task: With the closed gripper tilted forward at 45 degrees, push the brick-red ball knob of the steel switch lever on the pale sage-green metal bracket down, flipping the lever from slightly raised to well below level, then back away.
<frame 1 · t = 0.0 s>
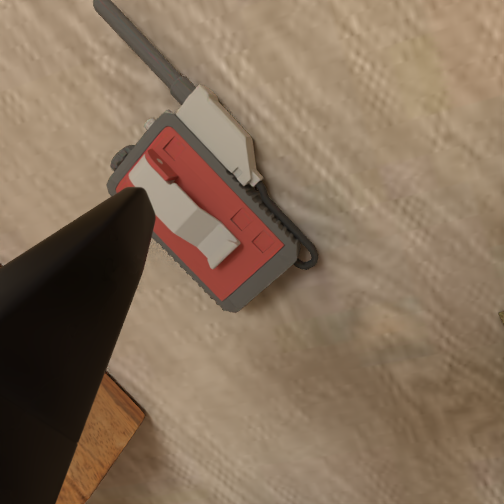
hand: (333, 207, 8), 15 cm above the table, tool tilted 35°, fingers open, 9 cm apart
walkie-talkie: (191, 165, 24), on the table
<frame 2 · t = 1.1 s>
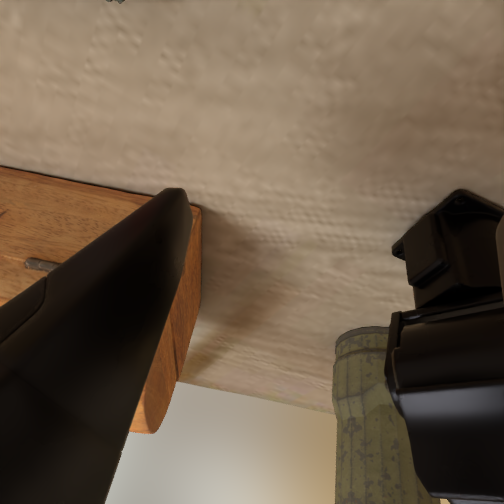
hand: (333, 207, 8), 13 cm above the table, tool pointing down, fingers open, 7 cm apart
wooden box: (43, 234, 34), on the table
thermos: (377, 347, 38), on the table
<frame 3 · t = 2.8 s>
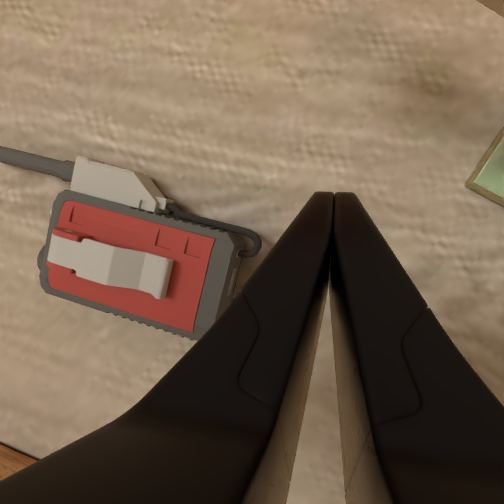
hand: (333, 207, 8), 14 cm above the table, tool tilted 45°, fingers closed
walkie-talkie: (115, 234, 25), on the table
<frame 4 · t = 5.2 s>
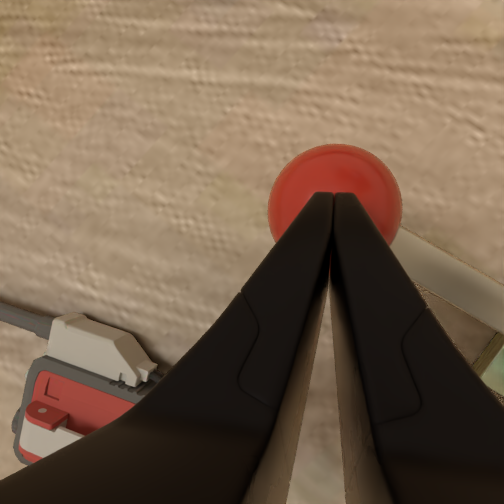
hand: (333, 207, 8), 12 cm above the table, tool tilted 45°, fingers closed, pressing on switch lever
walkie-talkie: (96, 385, 23), on the table
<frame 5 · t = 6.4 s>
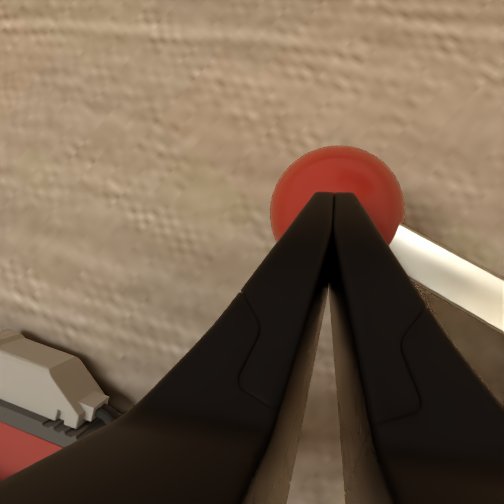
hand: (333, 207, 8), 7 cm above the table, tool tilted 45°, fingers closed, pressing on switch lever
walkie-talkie: (38, 419, 19), on the table
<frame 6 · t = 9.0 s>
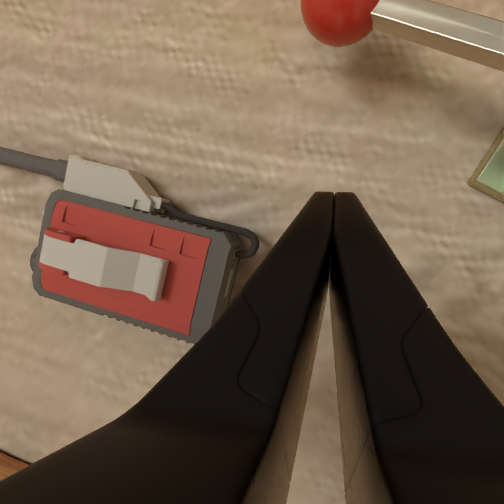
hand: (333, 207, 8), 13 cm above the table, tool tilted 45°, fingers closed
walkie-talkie: (110, 234, 24), on the table
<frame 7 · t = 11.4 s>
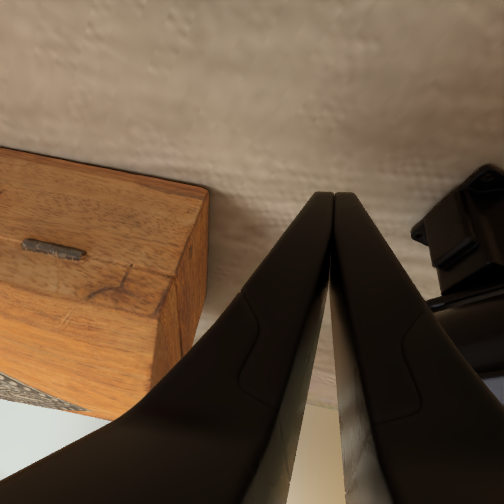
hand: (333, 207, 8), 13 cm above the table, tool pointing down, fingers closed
wooden box: (42, 221, 32), on the table
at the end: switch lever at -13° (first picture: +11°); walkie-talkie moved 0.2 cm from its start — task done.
